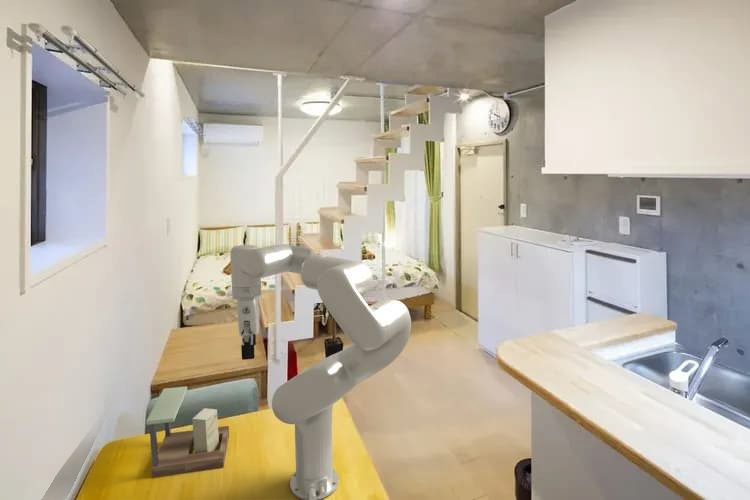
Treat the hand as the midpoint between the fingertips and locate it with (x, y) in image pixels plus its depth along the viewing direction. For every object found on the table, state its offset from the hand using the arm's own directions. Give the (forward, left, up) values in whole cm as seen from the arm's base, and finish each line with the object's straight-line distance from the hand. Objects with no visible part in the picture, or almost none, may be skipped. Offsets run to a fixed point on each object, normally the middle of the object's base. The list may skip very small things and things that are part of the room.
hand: (249, 351), depth 114 cm
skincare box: (+6, +13, -32) cm, 36 cm away
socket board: (+6, +17, -32) cm, 37 cm away
